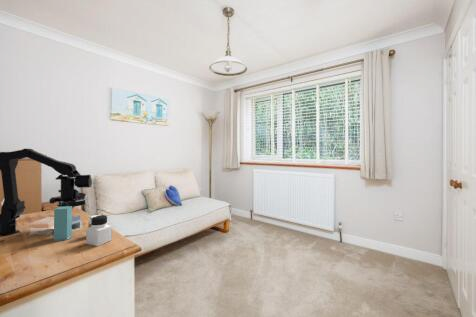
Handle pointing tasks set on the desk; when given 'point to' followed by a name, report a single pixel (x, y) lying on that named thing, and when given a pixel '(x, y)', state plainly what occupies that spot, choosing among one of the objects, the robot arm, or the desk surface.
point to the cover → (76, 219)
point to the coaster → (63, 239)
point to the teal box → (62, 222)
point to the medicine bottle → (98, 231)
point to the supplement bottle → (90, 221)
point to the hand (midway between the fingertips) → (67, 217)
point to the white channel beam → (76, 226)
